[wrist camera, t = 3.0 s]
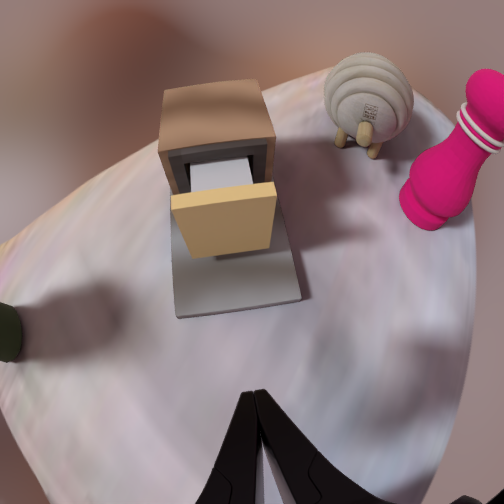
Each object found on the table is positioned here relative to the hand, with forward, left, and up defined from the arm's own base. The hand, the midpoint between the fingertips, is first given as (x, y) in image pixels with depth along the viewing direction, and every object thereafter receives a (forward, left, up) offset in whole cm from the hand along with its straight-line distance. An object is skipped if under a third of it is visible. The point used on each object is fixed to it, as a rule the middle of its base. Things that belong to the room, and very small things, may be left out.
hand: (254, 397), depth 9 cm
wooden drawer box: (+9, +12, -12) cm, 19 cm away
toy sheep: (+28, +11, -13) cm, 33 cm away
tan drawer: (+9, +13, -10) cm, 18 cm away
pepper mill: (+25, -1, -13) cm, 28 cm away
